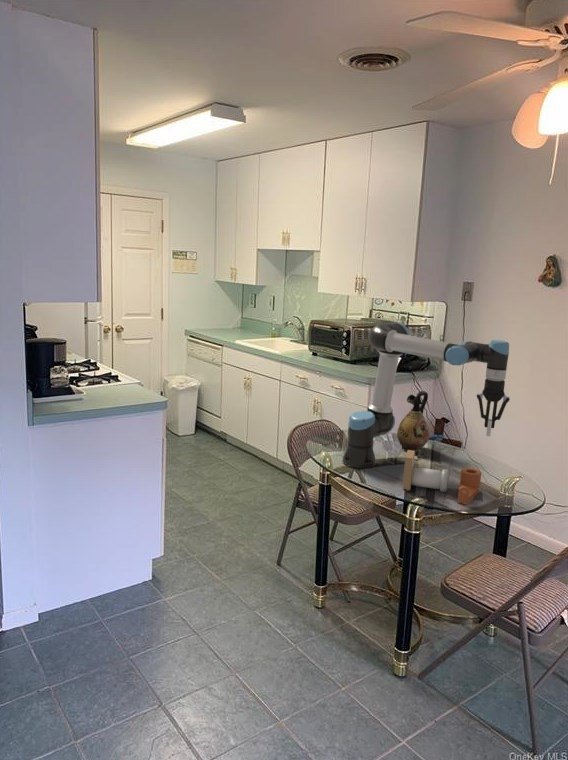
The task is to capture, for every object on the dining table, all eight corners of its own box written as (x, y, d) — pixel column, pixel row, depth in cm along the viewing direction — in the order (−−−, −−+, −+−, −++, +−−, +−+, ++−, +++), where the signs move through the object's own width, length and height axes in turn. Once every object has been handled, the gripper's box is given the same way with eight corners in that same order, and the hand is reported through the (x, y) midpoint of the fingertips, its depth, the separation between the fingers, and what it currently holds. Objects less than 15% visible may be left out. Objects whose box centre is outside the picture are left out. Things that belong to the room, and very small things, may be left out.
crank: (461, 466, 243) (481, 469, 240) (459, 484, 244) (479, 487, 242) (459, 483, 224) (480, 486, 222) (457, 502, 226) (478, 506, 224)
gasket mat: (446, 495, 233) (446, 494, 233) (447, 487, 241) (447, 487, 241) (482, 500, 229) (482, 499, 229) (482, 493, 237) (482, 492, 237)
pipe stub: (402, 489, 237) (405, 457, 234) (405, 480, 247) (407, 449, 244) (445, 496, 233) (449, 463, 230) (446, 486, 242) (449, 455, 239)
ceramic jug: (411, 456, 277) (416, 396, 271) (389, 447, 290) (394, 389, 284) (436, 451, 286) (442, 392, 280) (414, 442, 299) (419, 386, 292)
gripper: (478, 379, 229) (471, 435, 235) (513, 382, 226) (505, 440, 231) (478, 375, 236) (471, 430, 242) (511, 379, 233) (504, 434, 238)
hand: (488, 435), depth 236 cm, fingers closed
